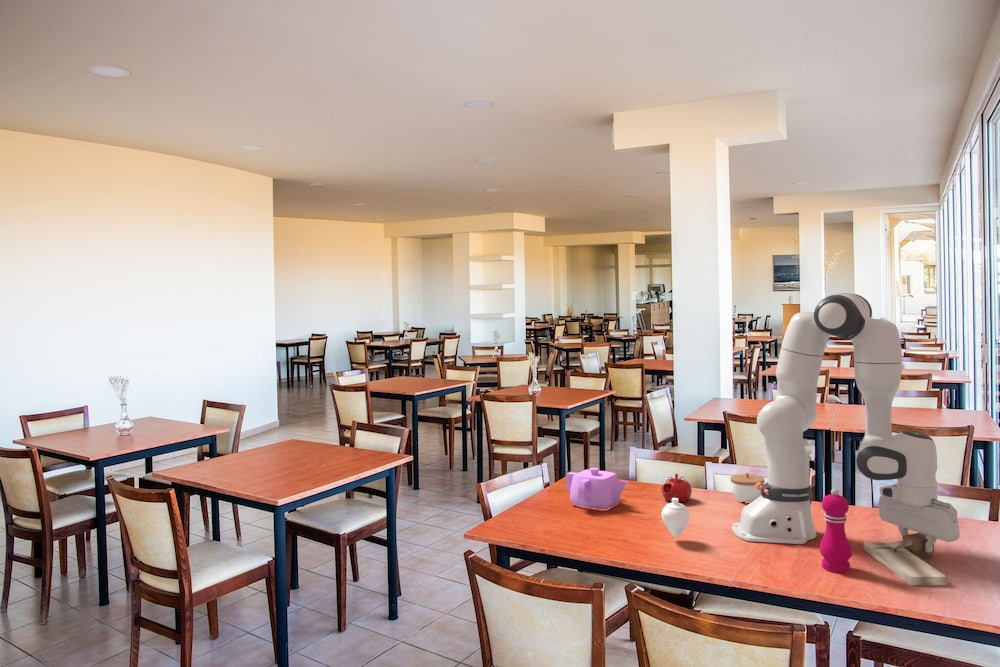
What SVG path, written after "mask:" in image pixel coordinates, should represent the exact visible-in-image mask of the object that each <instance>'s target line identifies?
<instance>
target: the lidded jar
mask: <svg viewBox="0 0 1000 667" xmlns="http://www.w3.org/2000/svg"><path fill="white" fill-rule="evenodd" d="M765 480H766V479H765V478H764V477H762V476H761V475H757V474H750V473H749V472H745V473H742V474H741V473H738V474H735V475H734V474H733V475H731V476H730V480H729V481H730V487H731V492H732V495H733V496H734V497H735V498H736V499H737V501H738V500H740V501H743V502H753V501H754V500H755V499H757V498H758V497H760V496H761V490H758V489H757V488H756V486H755V484H757V482H760V483H762V484H763V485H764V484H765Z"/></svg>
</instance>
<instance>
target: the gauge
mask: <svg viewBox="0 0 1000 667" xmlns="http://www.w3.org/2000/svg"><path fill="white" fill-rule="evenodd" d="M927 541H928V539H926V535H925V534H922V533H919V532H915V533H911V534H909V535H904V536H903V537H902V540H898V541H891V542H892V543H890V547H892V548H894V552H897V548H899V547H903V548H905V549H906V550H908V551H909V552H911V553H912V554H914V555H915V556H917V557H918V558H920V559H921V560H923V559H924V558H925V559H929V558H932V557H933V556H934V557H935V543H934V544H933V550H932V552H926V551H923V550H922V548H923V547H922V544H925V543H926V542H927ZM934 557H933V558H934Z"/></svg>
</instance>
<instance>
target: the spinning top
mask: <svg viewBox="0 0 1000 667" xmlns="http://www.w3.org/2000/svg"><path fill="white" fill-rule="evenodd" d="M678 501H679V499H678V498H672V502H669V503H666V504H665V506H664V507H663V508H662V510H661V519H662V521H663V523H664V525H665V527H666V528H667V530H668V531H669V533H670V534H671V535H672V536H673V537H674V538H675V539H674V541H677V540H678V537H679V536H680V535H681V534H682V533H683V531H684V530H685V529H686V527H687V525H688V523H689V521H690V516H691V515H690V512H689V509H688V508H687V507H686V506H685V505H684V504H683V503H678Z"/></svg>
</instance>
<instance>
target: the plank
mask: <svg viewBox="0 0 1000 667" xmlns="http://www.w3.org/2000/svg"><path fill="white" fill-rule="evenodd" d="M892 542H893V541H863V551H864V552H867V554H868V555H870V556H871V557H873V558H874V559H875V560H876V561H878V562H879V563H881V564H882V565H883V566H885V567H886V568H887V569H889V570H890V571H891V572H893V574H895V575H897V576H898V577H899V578H900V579H901V580H903V581H904V582H905V583H907V584H908V585H910V586H948V576H946V575H945V574H944V573H942V572H940V571H939V570H938V569H937V568H934V567H933V566H932V565H930V564H928V563H927V562H926V561H925V560H923V559H920V558H918V557H917V556H915V555H914V554H912V553H911V552H909V551H908V550H906V549H905V548H903V547H899V548H897V552H894V548H892V547H890V543H892Z"/></svg>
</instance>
